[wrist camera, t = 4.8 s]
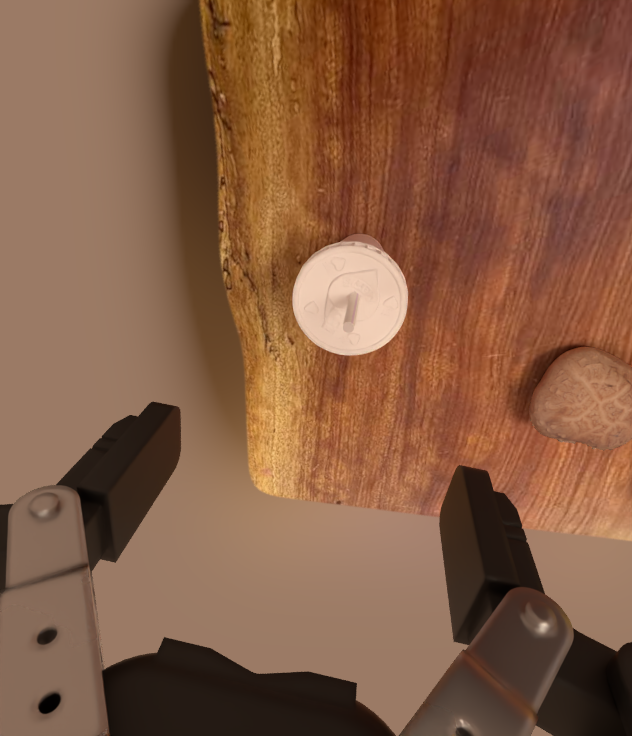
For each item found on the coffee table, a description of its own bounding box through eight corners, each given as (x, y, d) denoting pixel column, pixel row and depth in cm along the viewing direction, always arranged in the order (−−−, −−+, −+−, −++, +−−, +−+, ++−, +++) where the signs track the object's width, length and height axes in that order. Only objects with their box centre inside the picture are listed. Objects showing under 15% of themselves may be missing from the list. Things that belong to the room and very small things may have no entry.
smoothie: (422, 250, 32) (443, 326, 20) (366, 317, 35) (354, 418, 23) (350, 194, 31) (325, 236, 19) (299, 267, 34) (247, 345, 21)
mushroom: (607, 446, 37) (683, 381, 31) (590, 492, 33) (672, 428, 28) (524, 392, 40) (580, 323, 34) (498, 429, 36) (557, 359, 30)
